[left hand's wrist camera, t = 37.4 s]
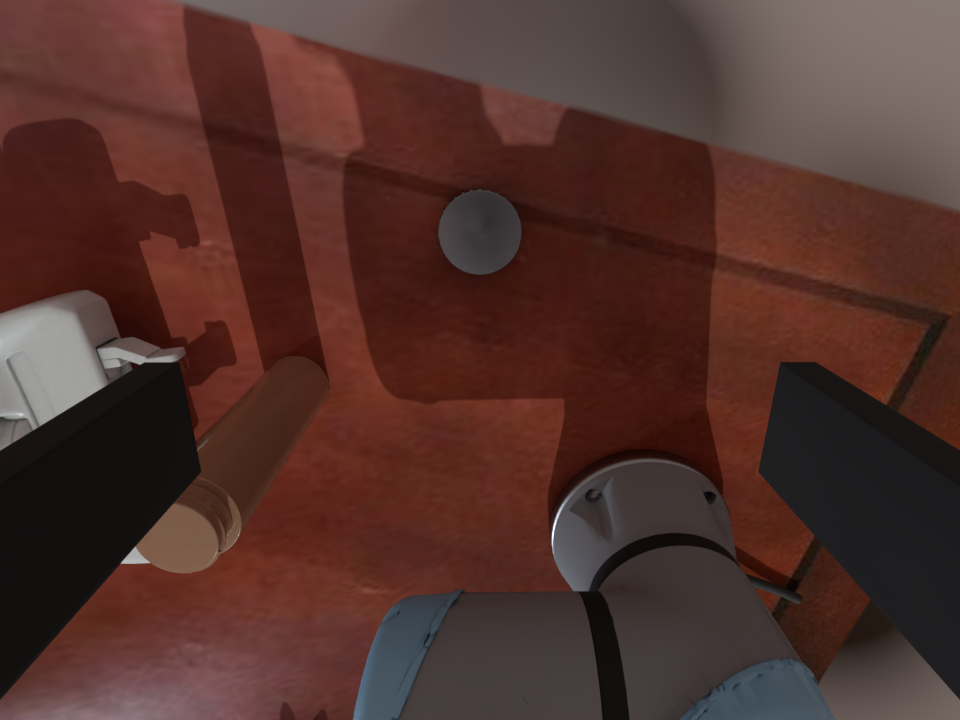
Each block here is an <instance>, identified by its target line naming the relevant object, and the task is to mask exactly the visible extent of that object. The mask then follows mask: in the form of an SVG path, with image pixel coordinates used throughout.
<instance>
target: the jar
mask: <svg viewBox="0 0 960 720" xmlns="http://www.w3.org/2000/svg"><path fill="white" fill-rule="evenodd" d="M328 393H329V382H328V378H327V376H326V374H325V372H324V371H323V369H322V368H321V367H320V366H319V365H318V364H317V363H315V362H314V361H312V360H310V359H308V358H305V357H302V356H287V357H284V358H281V359H279V360H278V361H276V362H275V363H274V364H273V365H272V366H271V367H270V368H269V369H268V370H267V371H266V372H265V373H264V374H263V375H262V376H261V377H260V378H259V379H258V380H257V381H256V382H255V383H254V384H253V385H252V386H251V387H250V388H249V389H248V390H247V391H246V392H245V393H244V394H243V395H242V396H241V397H240V398H239V399H238V400H237V401H236V402H235V403H234V404H233V405H232V406H231V407H230V408H229V409H228V410H227V411H226V412H225V413H224V414H223V415H222V416H221V417H220V418H219V419H218V420H217V421H216V422H215V423H214V424H213V425H212V426H211V427H210V428H209V429H208V430H207V431H206V432H205V433H204V434H203V435H202V436H201V437H200V438H199V439H198V440H197V441H196V447H197V452H198V457H199V462H200V467H201V473H200V474H199V475H198V476H197V478H196V479H195V480H194V481H193V482H192V483H191V484H190V485H189V487H188V488H187V489H186V490H185V491H184V492H183V493H182V495H181V496H180V497H179V498H178V499H177V500H176V501H175V502H174V504H173V505H172V506H171V507H170V508H169V509H168V510H167V511H166V513H165V514H164V515H163V516H162V517H161V518H160V519H159V521H158V522H157V523H156V524H155V525H154V526H153V527H152V528H151V530H150V531H149V532H148V533H147V534H146V535H145V536H144V538H143V539H142V540H141V541H140V542H139V543H138V544H137V545H136V548H137V550H138V551H139V553H140V554H141V555H142V556H143V557H144V558H145V559H146V560H147V561H149V562H150V563H152V564H153V565H155V566H157V567H159V568H161V569H164V570H166V571H170V572H175V573H192V572H196V571H201V570H203V569H205V568H207V567H210V566H211V565H212V564H213V563H214V562H215V561H216V560H217V558H218V556H219V555H220V554H221V553H223V552H224V551H226V550H228V549H229V548H230V547H231V546H232V545H233V544H234V543H235V542H236V541H237V539H238V538H239V536H240V534H241V533H242V531H243V530H244V528H245V527H246V525H247V523H248V522H249V520H250V519H251V517H252V515H253V514H254V512H255V511H256V509H257V508H258V506H259V504H260V503H261V501H262V500H263V498H264V497H265V495H266V493H267V492H268V490H269V489H270V487H271V486H272V484H273V482H274V481H275V479H276V478H277V476H278V475H279V473H280V471H281V470H282V468H283V467H284V465H285V463H286V462H287V460H288V459H289V457H290V456H291V454H292V452H293V451H294V449H295V448H296V446H297V445H298V443H299V441H300V440H301V438H302V437H303V435H304V434H305V432H306V430H307V429H308V427H309V426H310V424H311V423H312V421H313V419H314V418H315V416H316V415H317V413H318V411H319V410H320V408H321V407H322V405H323V404H324V402H325V400H326V399H327V396H328Z"/></svg>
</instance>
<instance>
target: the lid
mask: <svg viewBox="0 0 960 720" xmlns="http://www.w3.org/2000/svg"><path fill="white" fill-rule="evenodd" d="M448 204H449V205H448V206H447V207H446V209H445V208H444V210H443V214H442V217H440V219H439V220H440V223H439V226H438V229H439V232H438V233H439V235H438V238H439V241H440V246H441V248H442V250H443V252H444V254H445V256H446V257H447V259H448V260H449V261H450V262H451V263H452V264H453V265H454V266H455V267H457V268H458V269H460V270H462V271H464V272H467V273H471V274H477V275H484V274H490V273H493V272H496V271H498V270H500V269H502V268H503V267H505V266H506V265H507V264H508V263H509V262H510V261H511V260H512V259H513V257H514V256H515V255H516V253H517V251H518V248H519V247H520V242H521V238H522V236H521V235H522V231H521V229H522V227H521V223H520V220H521V219H520V218H519V217H518V214H517V210H516V209H514V207H513V206H512V203H511V202H509V201H508V200H507V199H506V197H505V196H504V197H503V196H502V195H500V194H499V193H498V192H497V191H496V192H494V191H492V190H490V189H489V188H488V189H481V188H480V189H472V188H471V190H469V191H465V192H464V191H463V192H462V193H461V194H460V195H458V196H455V197H454V199H453V200H452V201H451V202H450V201H449V203H448Z"/></svg>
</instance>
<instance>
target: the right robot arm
mask: <svg viewBox="0 0 960 720" xmlns="http://www.w3.org/2000/svg"><path fill="white" fill-rule="evenodd" d="M130 362H133V363H137V364H140V365H141V364H142V363H144V362H179V363H180V368H181V372H182V373H184V372H185V370H187V369H189V368H190V364H189V361H188V358H187V355H186V352H185V349H184V347H177V348H169V349H161V348H160V347H157V346H155V345H152V344H150V343H147V342H145V341H142V340H140V339H137V338H135V337H128V338H121V337H120V334H119V332H118V329H117V326H116V324H115V321H114V318H113V316H112V313H111V310H110V307H109V305H108V303H107V301H106V299H105V298H103V297H101V296H100V295H98V294H96V293H93V292H91V291H89V290H80V291H74V292H69V293H64V294H60V295H56V296H53V297H49V298H46V299H43V300H40V301H36V302H33V303H30V304H26V305H23V306H20V307H17V308H15V309H12V310H9V311H6V312H3V313H0V450H2V449H3V448H5V447H7V446H8V445H10V444H12V443H13V442H15V441H17V440H18V439H20V438H21V437H23V436H25V435H26V434H28V433H30V432H31V431H33V430H35V429H36V428H38V427H39V426H41V425H43V424H44V423H46V422H48V421H49V420H51V419H52V418H54V417H56V416H57V415H59V414H61V413H62V412H64V411H66V410H67V409H69V408H70V407H72V406H74V405H75V404H77V403H79V402H80V401H82V400H84V399H85V398H87V397H88V396H90V395H92V394H93V393H95V392H97V391H98V390H100V389H102V388H103V387H105V386H106V385H108V384H110V383H111V382H113V381H115V380H116V379H118V378H120V377H121V376H123V375H124V374H126V373H128V372H129V371H131V370H133V369H132V366H131V363H130ZM121 563H122V564H136V563H150V562H149V561H147V560H146V559H145V558H144V557H143V556H142V555H141V554H140V553H139V551H138V550H137V548H136V547H135V548H134V549H133V550H132V551H131V552H130V553H129V554H128V556H127V557H126V558H125V559H124V560H123V561H122V562H121Z"/></svg>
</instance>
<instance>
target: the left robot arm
mask: <svg viewBox="0 0 960 720" xmlns="http://www.w3.org/2000/svg"><path fill="white" fill-rule="evenodd" d="M200 473H201V467H200V462H199V457H198V452H197V447H196V442H195V437H194V432H193V427H192V422H191V417H190V412H189V407H188V402H187V397H186V392H185V387H184V382H183V377H182V372H181V368H180V363H179V362H144V363H142V364H141V365H139V366H137V367H136V368H134V369H133V370H131V371H129V372H128V373H126V374H124V375H123V376H121V377H120V378H118V379H116V380H115V381H113V382H111V383H110V384H108V385H106V386H105V387H103V388H102V389H100V390H98V391H97V392H95V393H93V394H92V395H90V396H88V397H87V398H85V399H84V400H82V401H80V402H79V403H77V404H75V405H74V406H72V407H70V408H69V409H67V410H66V411H64V412H62V413H61V414H59V415H57V416H56V417H54V418H52V419H51V420H49V421H48V422H46V423H44V424H43V425H41V426H39V427H38V428H36V429H35V430H33V431H31V432H30V433H28V434H26V435H25V436H23V437H21V438H20V439H18V440H17V441H15V442H13V443H12V444H10V445H8V446H7V447H5V448H3V449H2V450H0V699H1V698H2V697H3V696H4V695H5V694H6V692H7V691H8V690H9V689H10V688H11V687H12V686H13V685H14V683H15V682H16V681H17V680H18V679H19V678H20V677H21V675H22V674H23V673H24V672H25V671H26V670H27V669H28V668H29V666H30V665H31V664H32V663H33V662H34V661H35V660H36V659H37V657H38V656H39V655H40V654H41V653H42V652H43V651H44V649H45V648H46V647H47V646H48V645H49V644H50V643H51V642H52V640H53V639H54V638H55V637H56V636H57V635H58V634H59V633H60V631H61V630H62V629H63V628H64V627H65V626H66V625H67V623H68V622H69V621H70V620H71V619H72V618H73V617H74V616H75V614H76V613H77V612H78V611H79V610H80V609H81V608H82V607H83V605H84V604H85V603H86V602H87V601H88V600H89V599H90V597H91V596H92V595H93V594H94V593H95V592H96V591H97V590H98V588H99V587H100V586H101V585H102V584H103V583H104V582H105V580H106V579H107V578H108V577H109V576H110V575H111V574H112V573H113V571H114V570H115V569H116V568H117V567H118V566H119V565H120V564H121V562H122V561H123V560H124V559H125V558H126V557H127V556H128V554H129V553H130V552H131V551H132V550H133V549H134V548H135V547H136V545H137V544H138V543H139V542H140V541H141V540H142V539H143V538H144V536H145V535H146V534H147V533H148V532H149V531H150V530H151V528H152V527H153V526H154V525H155V524H156V523H157V522H158V521H159V519H160V518H161V517H162V516H163V515H164V514H165V513H166V511H167V510H168V509H169V508H170V507H171V506H172V505H173V504H174V502H175V501H176V500H177V499H178V498H179V497H180V496H181V495H182V493H183V492H184V491H185V490H186V489H187V488H188V487H189V485H190V484H191V483H192V482H193V481H194V480H195V479H196V478H197V476H198V475H199V474H200ZM759 473H760V474H761V475H762V476H763V478H764V479H765V480H766V481H767V482H768V483H769V484H770V485H771V487H772V488H773V489H774V490H775V491H776V492H777V493H778V495H779V496H780V497H781V498H782V499H783V500H784V501H785V502H786V504H787V505H788V506H789V507H790V508H791V509H792V510H793V511H794V513H795V514H796V515H797V516H798V517H799V518H800V519H801V521H802V522H803V523H804V524H805V525H806V526H807V527H808V528H809V530H810V531H811V532H812V533H813V534H814V535H815V536H816V538H817V539H818V540H819V541H820V542H821V543H822V544H823V545H824V547H825V548H826V549H827V550H828V551H829V552H830V553H831V554H832V556H833V557H834V558H835V559H836V560H837V561H838V562H839V564H840V565H841V566H842V567H843V568H844V569H845V570H846V571H847V573H848V574H849V575H850V576H851V577H852V578H853V579H854V580H855V582H856V583H857V584H858V585H859V586H860V587H861V588H862V590H863V591H864V592H865V593H866V594H867V595H868V596H869V597H870V599H871V600H872V601H873V602H874V603H875V604H876V605H877V606H878V608H879V609H880V610H881V611H882V612H883V613H884V614H885V616H886V617H887V618H888V619H889V620H890V621H891V622H892V623H893V625H894V626H895V627H896V628H897V629H898V630H899V631H900V633H901V634H902V635H903V636H904V637H905V638H906V639H907V640H908V642H909V643H910V644H911V645H912V646H913V647H914V648H915V649H916V651H917V652H918V653H919V654H920V655H921V656H922V657H923V659H924V660H925V661H926V662H927V663H928V664H929V665H930V666H931V668H932V669H933V670H934V671H935V672H936V673H937V674H938V675H939V677H940V678H941V679H942V680H943V681H944V682H945V683H946V685H947V686H948V687H949V688H950V689H951V690H952V691H953V692H954V694H955V695H956V696H957V697H958V698H959V699H960V450H958V449H957V448H955V447H953V446H952V445H950V444H948V443H947V442H945V441H943V440H942V439H940V438H939V437H937V436H935V435H934V434H932V433H930V432H929V431H927V430H925V429H924V428H922V427H921V426H919V425H917V424H916V423H914V422H912V421H911V420H909V419H908V418H906V417H904V416H903V415H901V414H899V413H898V412H896V411H894V410H893V409H891V408H890V407H888V406H886V405H885V404H883V403H881V402H880V401H878V400H876V399H875V398H873V397H872V396H870V395H868V394H867V393H865V392H863V391H862V390H860V389H858V388H857V387H855V386H854V385H852V384H850V383H849V382H847V381H845V380H844V379H842V378H840V377H839V376H837V375H836V374H834V373H832V372H831V371H829V370H827V369H826V368H824V367H823V366H821V365H819V364H818V363H816V362H781V363H780V368H779V372H778V377H777V382H776V387H775V392H774V397H773V402H772V407H771V412H770V417H769V422H768V427H767V432H766V437H765V442H764V447H763V452H762V457H761V462H760V467H759ZM550 539H551V545H552V550H553V555H554V559H555V562H556V565H557V567H558V569H559V571H560V573H561V574H562V576H563V577H564V579H565V580H566V581H567V582H568V584H569V585H570V586H571V588H572V589H573V591H551V592H465V590H464V589H457V590H454V591H453V592H452V593H443V594H427V595H414V596H409V597H406V598H404V599H402V600H400V601H399V602H397V603H396V604H395V605H394V606H393V607H392V608H391V609H390V610H389V611H388V613H387V614H386V616H385V617H384V619H383V621H382V623H381V625H380V627H379V629H378V631H377V633H376V636H375V638H374V641H373V644H372V646H371V649H370V652H369V655H368V659H367V662H366V666H365V669H364V673H363V677H362V680H361V684H360V689H359V693H358V698H357V702H356V707H355V712H354V718H353V720H835V718H834V716H833V714H832V712H831V710H830V708H829V707H828V705H827V703H826V701H825V699H824V697H823V695H822V693H821V691H820V690H819V688H818V685H817V681H816V679H815V677H814V675H813V673H812V672H811V671H810V670H809V669H808V668H807V667H806V666H805V664H804V663H802V661H801V660H800V658H799V656H798V655H797V653H796V652H795V650H794V649H793V647H792V646H791V644H790V643H789V641H788V639H787V638H786V636H785V635H784V633H783V632H782V630H781V629H780V627H779V626H778V624H777V622H776V621H775V619H774V618H773V616H772V615H771V613H770V612H769V610H768V609H767V607H766V605H765V604H764V602H763V601H762V599H761V598H760V596H759V595H758V593H757V592H756V590H755V588H754V587H756V588H759V589H762V590H765V591H768V592H771V593H774V594H776V595H779V596H781V597H784V598H786V599H788V600H790V601H793V602H795V603H797V604H800V603H801V602H802V596H801V595H799V594H797V593H795V592H793V591H790V590H788V589H786V588H784V587H781V586H779V585H776V584H773V583H771V582H768V581H765V580H762V579H759V578H756V577H753V576H751V575H748V574H745V573H744V572H743V570H742V569H741V567H740V566H739V564H738V562H737V558H736V552H735V545H734V539H733V533H732V526H731V518H730V514H729V510H728V507H727V504H726V502H725V500H724V498H723V497H722V495H721V494H720V492H719V491H718V489H717V488H716V487H715V485H714V484H713V482H712V481H711V480H710V479H709V477H708V476H707V475H706V474H705V473H704V472H703V471H702V470H701V469H700V468H698V467H697V466H696V465H694V464H693V463H691V462H689V461H688V460H685V459H683V458H681V457H679V456H676V455H673V454H669V453H665V452H660V451H650V450H638V451H629V452H624V453H619V454H615V455H612V456H609V457H606V458H604V459H601V460H599V461H597V462H595V463H593V464H592V465H590V466H588V467H587V468H585V469H584V470H582V471H581V472H580V473H579V474H577V475H576V476H575V477H574V478H573V479H572V480H571V481H570V482H569V483H568V484H567V485H566V487H565V488H564V489H563V491H562V492H561V494H560V495H559V497H558V499H557V501H556V503H555V505H554V508H553V511H552V515H551V519H550Z"/></svg>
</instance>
